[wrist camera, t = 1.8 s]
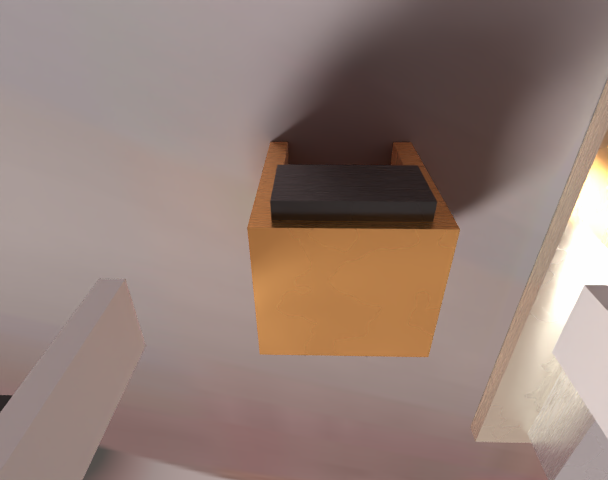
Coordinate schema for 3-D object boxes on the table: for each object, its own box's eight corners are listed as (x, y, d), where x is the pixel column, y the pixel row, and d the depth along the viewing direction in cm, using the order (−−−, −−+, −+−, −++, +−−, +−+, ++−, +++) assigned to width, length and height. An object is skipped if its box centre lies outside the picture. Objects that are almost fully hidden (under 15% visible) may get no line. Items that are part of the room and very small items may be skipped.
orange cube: (269, 127, 16) (245, 207, 10) (413, 127, 16) (465, 209, 10) (275, 244, 19) (259, 354, 13) (395, 245, 19) (428, 357, 13)
